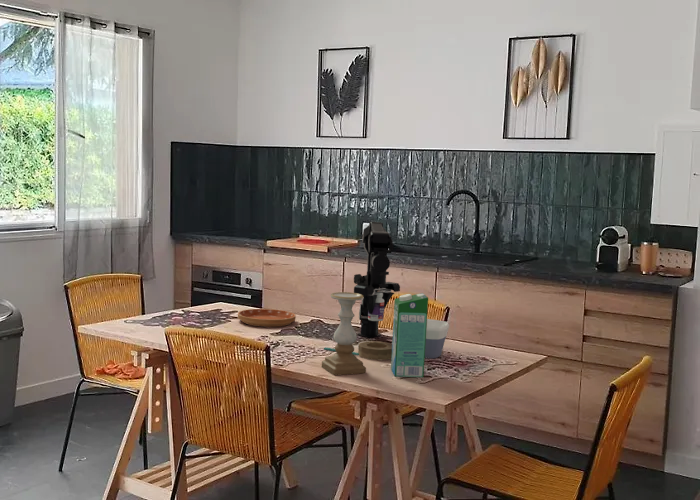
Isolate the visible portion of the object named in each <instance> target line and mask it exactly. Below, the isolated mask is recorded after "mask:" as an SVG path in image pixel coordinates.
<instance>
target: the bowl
mask: <svg viewBox="0 0 700 500" xmlns="http://www.w3.org/2000/svg"><path fill="white" fill-rule="evenodd" d="M449 328H450V324H449V322H448V321H444V320H439V319H432V318H431V319H429V318H427V328H426V345H425V359H431V360H432V359H437V358H439V357H440V356H441V355H442V353H443V349H444V344H445V343H446V338H447V335H448V331H449Z"/></svg>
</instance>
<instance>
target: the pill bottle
mask: <svg viewBox="0 0 700 500" xmlns="http://www.w3.org/2000/svg"><path fill="white" fill-rule="evenodd" d="M374 295H377V298H376V302H375V306H374V310H373V313H372V314H370V313H369V311H368V320H371V321H379V322H382V321H384V316H385V314H384V313H385V309H384V299H382V297H383V293H382V292H375V293H374Z"/></svg>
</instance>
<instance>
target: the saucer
mask: <svg viewBox="0 0 700 500" xmlns="http://www.w3.org/2000/svg"><path fill="white" fill-rule="evenodd" d="M237 319H238V320H240V321H241V322H243V323H244V324H247V325H250V326H255V327H263V328H264V327H265V328H266V327H267V328H276V327H284V326H288V325H291V324H292V323H293V322H295V321H296V319H297V316H296V314H295V313H293V312H291V311H288V310H287V311H286V310H281V309H273V308H250V309H249V308H248V309H243V310H240V311H238V313H237Z"/></svg>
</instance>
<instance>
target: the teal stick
mask: <svg viewBox="0 0 700 500" xmlns="http://www.w3.org/2000/svg"><path fill="white" fill-rule="evenodd" d="M323 350H324V351H325V350H326V351H330V352H336V351H335V348H332V347H323ZM336 353H337V352H336ZM352 354H353V355H355V356H359V353H358V352H356V351H353V352H352Z"/></svg>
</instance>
